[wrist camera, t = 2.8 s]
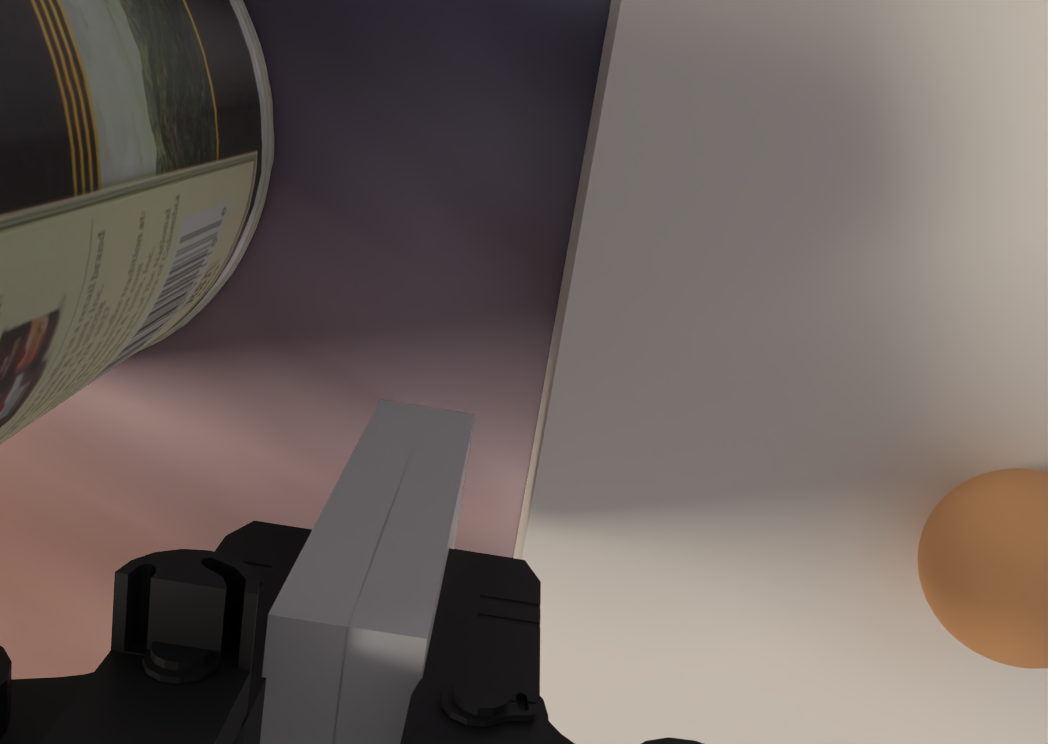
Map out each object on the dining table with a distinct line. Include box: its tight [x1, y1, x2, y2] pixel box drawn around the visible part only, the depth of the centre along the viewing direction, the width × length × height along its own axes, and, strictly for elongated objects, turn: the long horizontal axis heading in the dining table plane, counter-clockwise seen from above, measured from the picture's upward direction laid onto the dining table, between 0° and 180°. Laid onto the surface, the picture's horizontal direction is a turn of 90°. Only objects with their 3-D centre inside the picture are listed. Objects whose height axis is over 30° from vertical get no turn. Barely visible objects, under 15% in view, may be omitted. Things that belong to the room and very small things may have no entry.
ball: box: [917, 468, 1048, 669], centre depth 16 cm, size 3×3×3 cm
